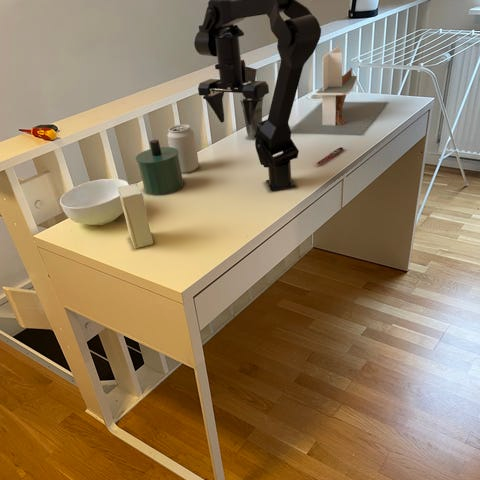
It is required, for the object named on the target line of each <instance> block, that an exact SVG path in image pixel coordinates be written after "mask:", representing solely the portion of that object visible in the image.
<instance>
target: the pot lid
mask: <svg viewBox="0 0 480 480" xmlns="http://www.w3.org/2000/svg"><path fill="white" fill-rule="evenodd" d="M149 146H150V148H149V149H146V150H144V151H141V152H140V153H138V154H137V155H136V156H135V162H136V163H137V164H138V163H140V164H158V163H163V162H167V161H169V160H172V159H174V158H175V157H177V156H178V154H179V152H178V150H177V149H176V148H172V147H169V146H161V144H160V140H159V139H152V140H150V141H149Z"/></svg>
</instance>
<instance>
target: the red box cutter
mask: <svg viewBox="0 0 480 480" xmlns="http://www.w3.org/2000/svg"><path fill="white" fill-rule="evenodd" d="M343 150H344V147H339V148H336V149H335V150H333V151H332V152H330V154H328V155H326V156H325V157H324V158H322V159H321V160H319V161H317V163H316V165H319V166H320V165H322V164H324V163H326V161H327V162H328V161H329V160H331V158H333V157H334V156H336V155H337V154H339V153H341V152H342V151H343Z"/></svg>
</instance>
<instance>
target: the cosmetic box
mask: <svg viewBox="0 0 480 480" xmlns="http://www.w3.org/2000/svg"><path fill="white" fill-rule="evenodd" d="M118 192H119V195H120V199H121V203H122V207H123V211H124V213H123V214H124V219H125V222H126V227H127V230H128V233H129V237H130V238H129V239H130V240H131V243H132V245H133V247H134V249H139V248H143V247H147V246H151V245H153V244H154V240H153V236H152V232H151V227H150V222H149V218H148V213H147V208H146V205H145V200H144V195H143V192H142V190H141V188H140V186H139V185H138V183H136V182H135V183H132V184H129V185H127V186H122V187H118Z"/></svg>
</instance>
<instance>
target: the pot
mask: <svg viewBox="0 0 480 480" xmlns="http://www.w3.org/2000/svg"><path fill="white" fill-rule="evenodd" d="M137 164H138V168H139V172H140V177H141V180H142V186H143V189H144V191H145V193H146V194H148V195H152V196H163V195H168V194H172V193H174V192H177V191H179V190H180V189H182V188H183V187H184V180H183V173H181V168H180V163H179V157H178V156H177V157H175V158H174V159H172V160H169V161H167V162H163V163H158V164H140V163H138V162H137Z"/></svg>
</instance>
